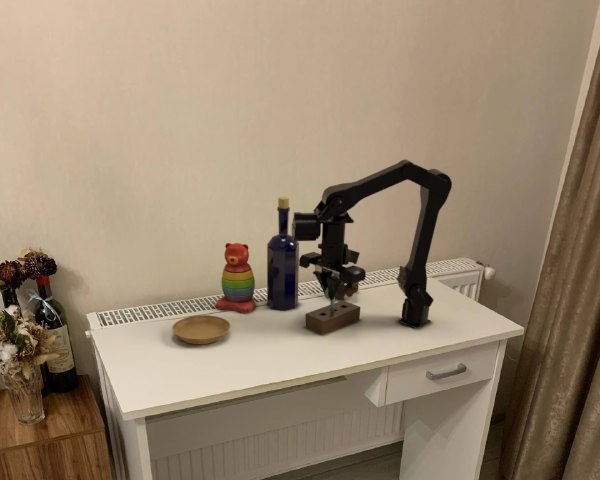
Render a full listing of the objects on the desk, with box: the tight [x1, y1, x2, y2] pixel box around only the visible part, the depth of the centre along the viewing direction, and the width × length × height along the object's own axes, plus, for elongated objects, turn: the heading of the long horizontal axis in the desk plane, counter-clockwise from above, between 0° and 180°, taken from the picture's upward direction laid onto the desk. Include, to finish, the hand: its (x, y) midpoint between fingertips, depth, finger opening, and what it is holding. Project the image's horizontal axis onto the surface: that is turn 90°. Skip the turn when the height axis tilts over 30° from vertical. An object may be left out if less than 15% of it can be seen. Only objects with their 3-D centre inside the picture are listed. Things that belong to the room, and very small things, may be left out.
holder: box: [304, 299, 361, 336], centre depth 165 cm, size 6×15×4 cm, turn 134°
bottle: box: [266, 196, 300, 311], centre depth 169 cm, size 9×9×30 cm
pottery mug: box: [334, 281, 360, 301], centre depth 182 cm, size 12×10×8 cm
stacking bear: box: [215, 242, 256, 314], centre depth 171 cm, size 11×10×18 cm
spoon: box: [324, 287, 337, 312], centre depth 162 cm, size 1×4×10 cm, turn 134°
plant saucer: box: [171, 314, 232, 345], centre depth 157 cm, size 15×15×3 cm
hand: (329, 298), depth 161 cm, fingers closed on spoon, 1 cm apart
